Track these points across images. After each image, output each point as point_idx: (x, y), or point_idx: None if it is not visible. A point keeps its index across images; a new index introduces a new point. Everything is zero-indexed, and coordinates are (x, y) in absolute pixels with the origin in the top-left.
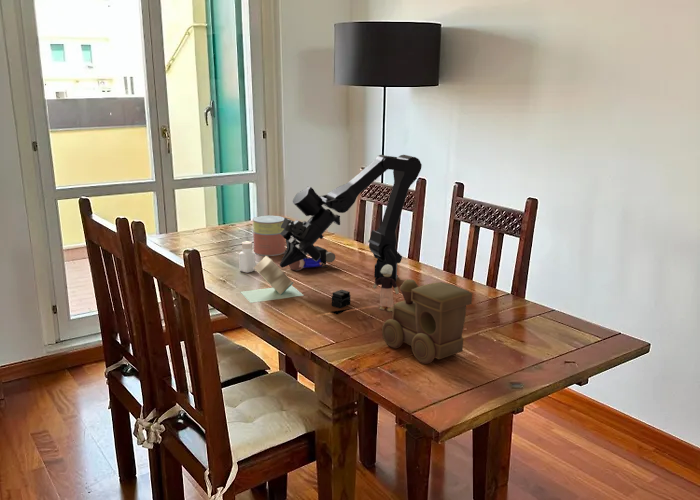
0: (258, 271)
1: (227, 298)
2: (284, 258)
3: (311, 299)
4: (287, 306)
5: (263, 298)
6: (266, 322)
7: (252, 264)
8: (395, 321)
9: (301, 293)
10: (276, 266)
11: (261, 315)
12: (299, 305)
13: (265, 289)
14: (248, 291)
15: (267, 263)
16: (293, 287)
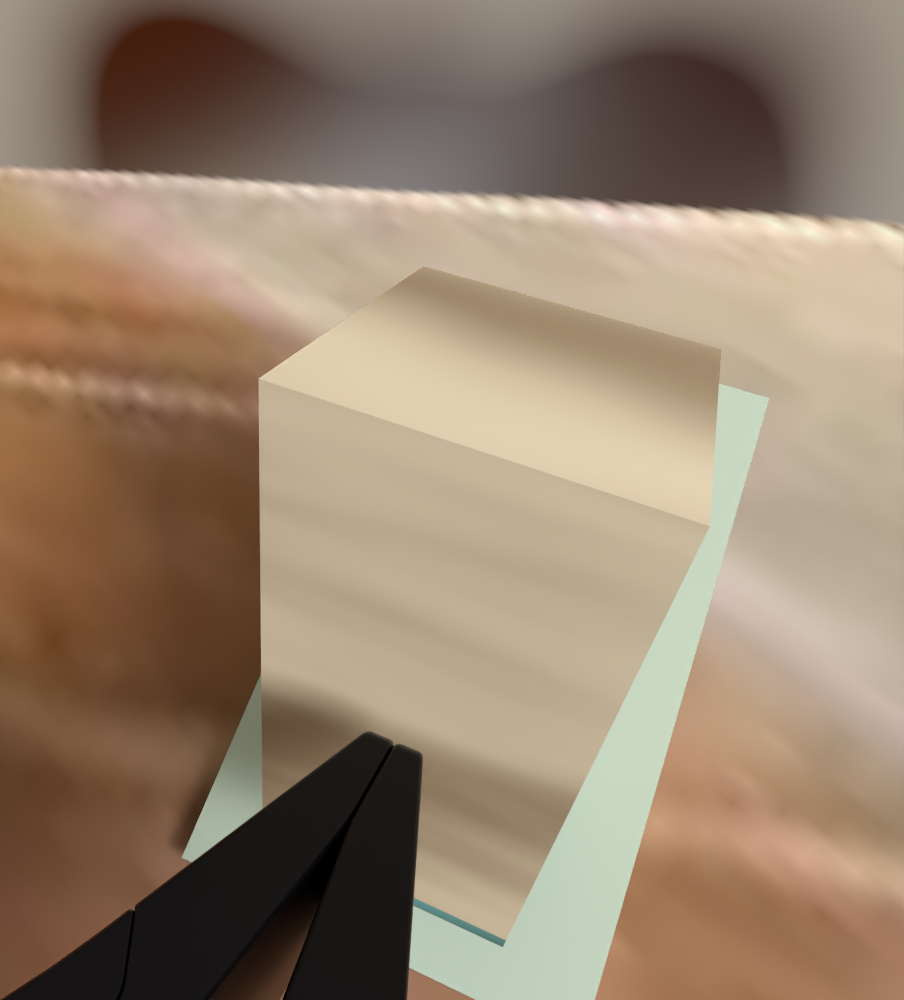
0: (469, 281)
1: (712, 247)
2: (279, 872)
3: (78, 854)
4: (139, 520)
5: None
6: (41, 186)
7: None
8: None
9: None
10: (270, 530)
11: (167, 235)
12: (67, 623)
13: (655, 657)
14: (721, 472)
15: (358, 345)
16: (478, 986)
